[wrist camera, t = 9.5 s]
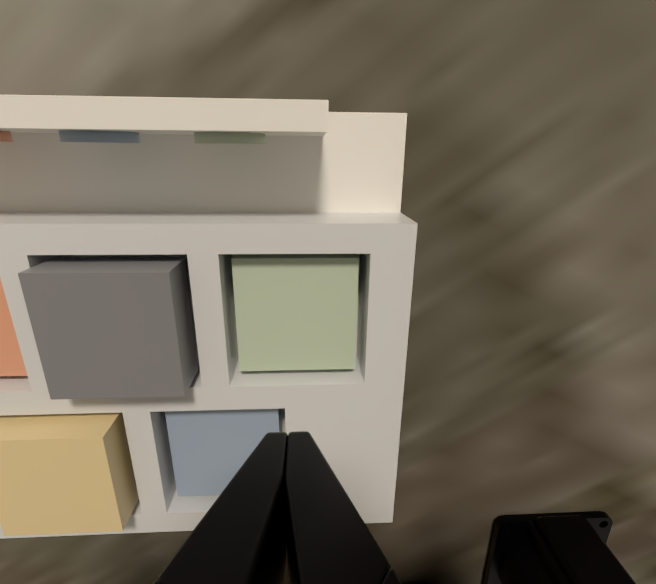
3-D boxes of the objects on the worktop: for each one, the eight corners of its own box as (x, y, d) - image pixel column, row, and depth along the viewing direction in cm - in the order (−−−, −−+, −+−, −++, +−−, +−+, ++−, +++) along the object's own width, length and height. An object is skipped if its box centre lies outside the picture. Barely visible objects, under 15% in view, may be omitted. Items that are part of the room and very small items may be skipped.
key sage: (349, 347, 17) (354, 369, 15) (246, 348, 17) (239, 371, 15) (353, 246, 16) (358, 257, 14) (239, 246, 15) (231, 258, 14)
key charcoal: (198, 369, 15) (184, 396, 14) (79, 371, 15) (50, 399, 13) (185, 257, 14) (168, 272, 12) (53, 257, 14) (17, 273, 12)
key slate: (283, 461, 19) (281, 492, 17) (189, 464, 19) (177, 496, 17) (280, 381, 17) (278, 406, 16) (178, 383, 17) (164, 408, 15)
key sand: (141, 493, 17) (123, 531, 15) (34, 497, 17) (4, 536, 15) (124, 406, 16) (102, 437, 14) (7, 409, 15) (-30, 441, 14)
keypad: (378, 462, 21) (397, 543, 16) (-26, 476, 20) (-118, 566, 15) (400, 115, 15) (438, 101, 11) (-160, 107, 14) (-362, 88, 10)
